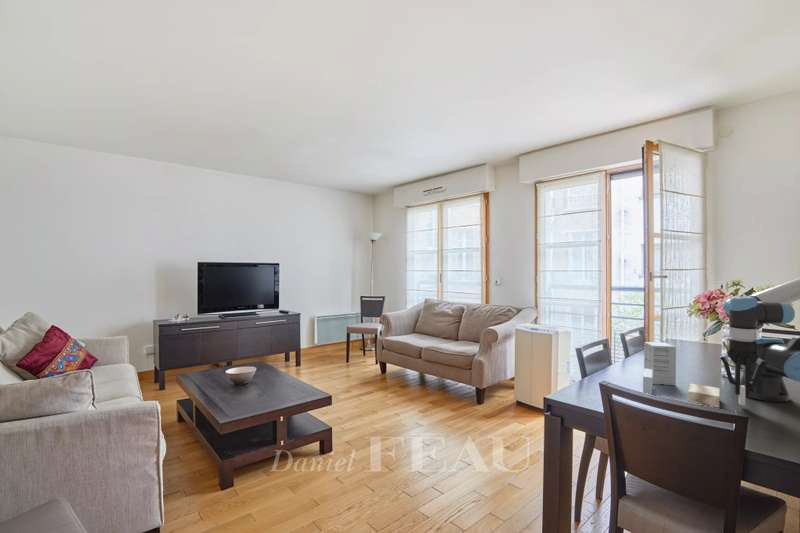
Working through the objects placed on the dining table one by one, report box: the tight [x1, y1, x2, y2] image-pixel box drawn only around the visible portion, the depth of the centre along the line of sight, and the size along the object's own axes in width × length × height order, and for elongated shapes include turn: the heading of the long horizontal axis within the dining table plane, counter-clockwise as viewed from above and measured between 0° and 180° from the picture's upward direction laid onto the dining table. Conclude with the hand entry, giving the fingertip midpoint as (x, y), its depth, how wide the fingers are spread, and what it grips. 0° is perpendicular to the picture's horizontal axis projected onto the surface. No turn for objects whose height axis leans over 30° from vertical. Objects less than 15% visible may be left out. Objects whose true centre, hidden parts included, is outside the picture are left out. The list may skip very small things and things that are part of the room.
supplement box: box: [643, 341, 677, 386], centre depth 172 cm, size 10×9×17 cm
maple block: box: [687, 383, 721, 408], centre depth 147 cm, size 9×12×5 cm
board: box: [642, 367, 653, 395], centre depth 158 cm, size 3×14×8 cm, turn 146°
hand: (741, 403), depth 141 cm, fingers closed
